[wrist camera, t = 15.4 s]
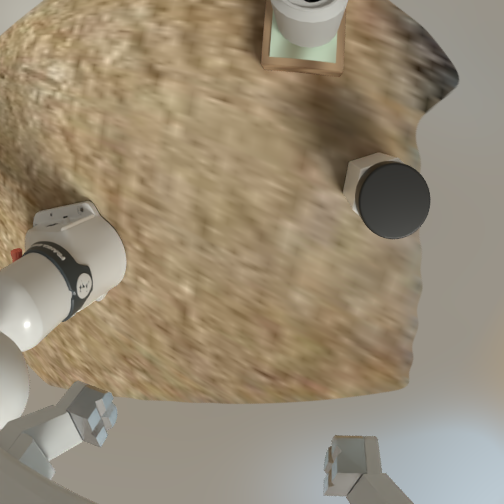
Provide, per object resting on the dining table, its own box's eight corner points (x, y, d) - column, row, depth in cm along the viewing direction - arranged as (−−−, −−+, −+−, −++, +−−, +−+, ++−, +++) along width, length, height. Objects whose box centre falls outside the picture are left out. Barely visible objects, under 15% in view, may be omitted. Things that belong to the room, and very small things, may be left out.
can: (304, 60, 33) (305, 31, 22) (264, 19, 32) (248, -21, 21) (350, 29, 30) (368, -8, 19) (310, -11, 29) (310, -58, 18)
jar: (392, 220, 43) (418, 250, 32) (338, 208, 43) (349, 235, 32) (406, 159, 39) (439, 170, 28) (350, 145, 40) (368, 150, 29)
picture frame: (264, 69, 38) (260, 63, 34) (270, -5, 33) (267, -17, 29) (339, 77, 37) (343, 71, 33) (342, 2, 32) (346, -10, 28)
